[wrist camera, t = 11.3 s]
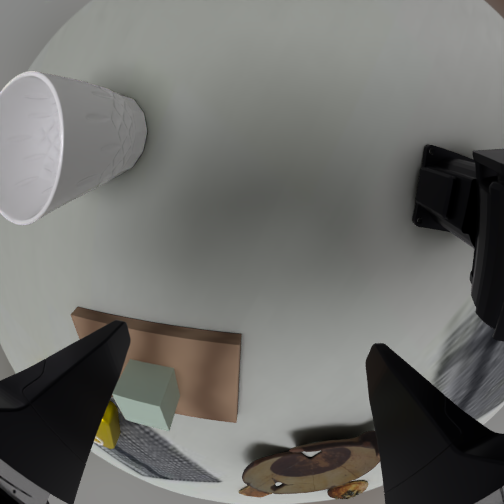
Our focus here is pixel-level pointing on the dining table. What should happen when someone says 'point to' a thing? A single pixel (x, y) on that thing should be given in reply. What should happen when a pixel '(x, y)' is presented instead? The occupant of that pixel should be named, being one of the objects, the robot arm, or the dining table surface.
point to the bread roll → (348, 490)
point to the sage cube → (147, 394)
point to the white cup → (62, 142)
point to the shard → (253, 492)
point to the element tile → (109, 427)
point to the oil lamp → (314, 466)
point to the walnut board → (182, 361)
